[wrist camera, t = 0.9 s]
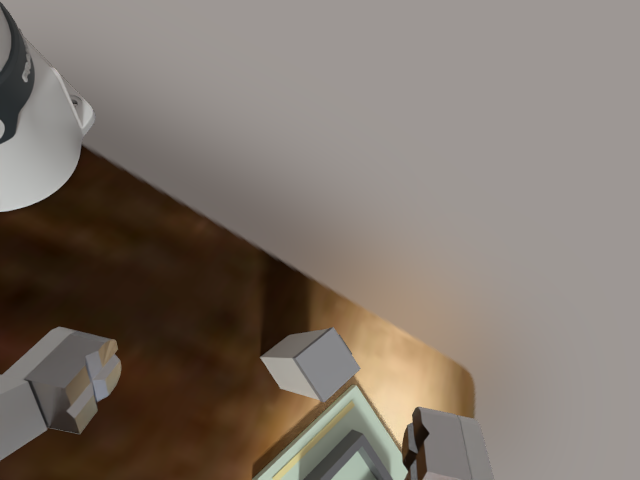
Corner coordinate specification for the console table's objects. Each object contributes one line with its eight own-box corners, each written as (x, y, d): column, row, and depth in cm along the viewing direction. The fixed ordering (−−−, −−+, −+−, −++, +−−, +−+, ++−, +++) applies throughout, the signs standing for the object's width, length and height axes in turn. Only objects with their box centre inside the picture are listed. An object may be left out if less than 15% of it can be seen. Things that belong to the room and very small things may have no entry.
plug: (259, 357, 40) (295, 358, 29) (293, 331, 42) (338, 323, 31) (280, 389, 39) (324, 402, 29) (313, 361, 42) (365, 364, 31)
